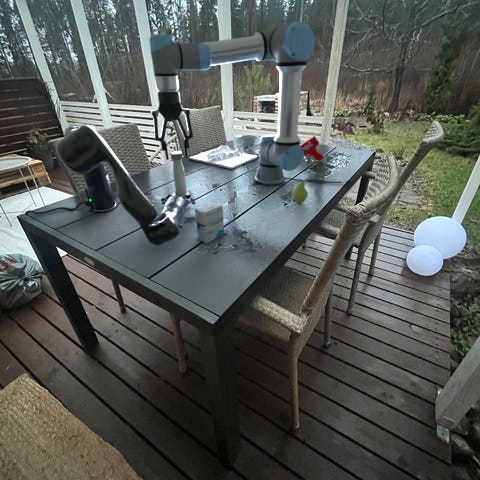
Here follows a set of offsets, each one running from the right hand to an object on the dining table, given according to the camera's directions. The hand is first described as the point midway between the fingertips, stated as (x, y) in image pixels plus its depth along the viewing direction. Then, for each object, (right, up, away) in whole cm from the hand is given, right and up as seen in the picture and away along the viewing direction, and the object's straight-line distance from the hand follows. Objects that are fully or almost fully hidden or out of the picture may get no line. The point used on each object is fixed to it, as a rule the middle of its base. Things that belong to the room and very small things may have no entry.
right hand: (176, 157), depth 106 cm
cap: (0, +1, -1) cm, 2 cm away
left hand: (0, -11, +10) cm, 15 cm away
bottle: (0, -18, +12) cm, 22 cm away
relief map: (+14, +22, +73) cm, 78 cm away
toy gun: (+67, +19, +69) cm, 98 cm away
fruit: (+51, -15, +16) cm, 56 cm away
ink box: (+14, -31, -8) cm, 35 cm away
